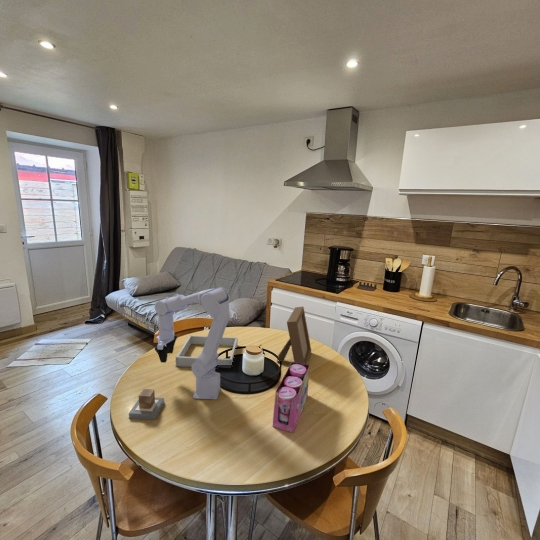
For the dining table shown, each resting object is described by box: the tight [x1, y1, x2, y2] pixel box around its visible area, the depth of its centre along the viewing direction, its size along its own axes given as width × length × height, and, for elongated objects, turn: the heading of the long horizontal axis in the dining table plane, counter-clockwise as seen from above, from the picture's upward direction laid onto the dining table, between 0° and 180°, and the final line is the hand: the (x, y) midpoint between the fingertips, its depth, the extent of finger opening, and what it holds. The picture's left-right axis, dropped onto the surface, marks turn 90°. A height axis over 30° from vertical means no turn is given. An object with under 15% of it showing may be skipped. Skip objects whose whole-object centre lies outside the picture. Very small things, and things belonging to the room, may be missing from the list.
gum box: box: [272, 361, 311, 433], centre depth 108 cm, size 24×8×14 cm, turn 161°
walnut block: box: [138, 388, 156, 409], centre depth 105 cm, size 4×4×5 cm
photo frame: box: [276, 306, 312, 365], centre depth 145 cm, size 15×22×25 cm
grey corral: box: [175, 334, 238, 368], centre depth 147 cm, size 26×24×4 cm
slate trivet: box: [128, 397, 165, 420], centre depth 106 cm, size 9×9×2 cm
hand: (166, 357), depth 123 cm, fingers open, 7 cm apart
